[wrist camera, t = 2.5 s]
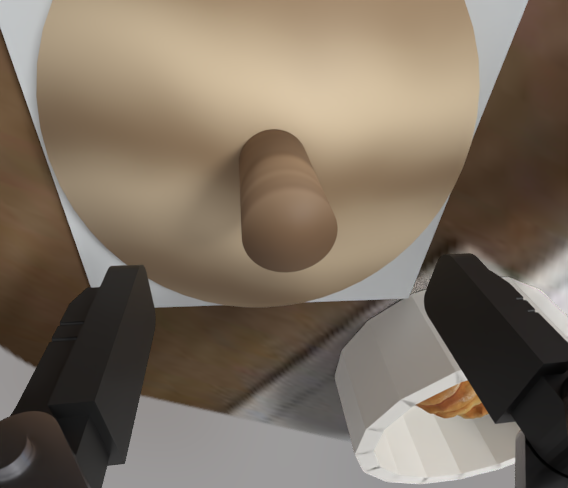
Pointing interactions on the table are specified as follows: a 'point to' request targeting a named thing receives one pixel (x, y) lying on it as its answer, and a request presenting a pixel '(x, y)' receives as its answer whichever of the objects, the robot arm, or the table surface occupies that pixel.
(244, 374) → the table surface
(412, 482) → the bowl
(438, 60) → the lid
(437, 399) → the pastry
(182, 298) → the mat
